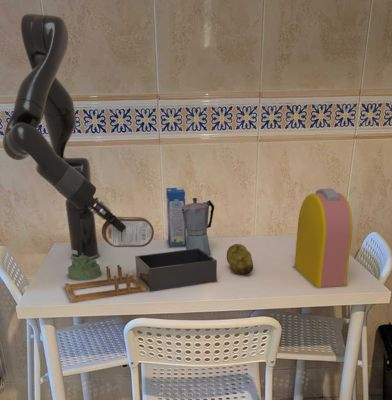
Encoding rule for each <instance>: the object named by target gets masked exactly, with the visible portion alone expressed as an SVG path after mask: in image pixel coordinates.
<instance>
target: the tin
mask: <svg viewBox="0 0 392 400" xmlns="http://www.w3.org/2000/svg"><path fill="white" fill-rule="evenodd" d="M116 218H117V219H118V220H119V221H121V222H122V223H123V224H124V225H125V226H126V228H125V229H124V230H123V232H120V231H119V230H118V229H117V228H115V227H114V226H113V225H112V224H109V223H108V222H107V221H106V220H105V222H103V225H102V227H101V236H102V239H103V240H104V241H105V243H107V244H108V245H110V246H111V247H113V248H144V247H146V246H148V245H149V244H150V243H152V241H153V238H154V235H155V230H154V227H153V225H152V223H151V222H150V221H149V220H148V219H147V218H145V217H142V216H116ZM109 219H110V218H109ZM109 219H108V220H109Z"/></svg>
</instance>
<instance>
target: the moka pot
mask: <svg viewBox="0 0 392 400" xmlns="http://www.w3.org/2000/svg"><path fill="white" fill-rule="evenodd" d="M197 201H198V198H197V197H193V198H192V203H191V202H190V203H187V204H186V203H185V205H184V206H182V207H181V208H182V210H181V212H182V214H183V219H184V225H185V228H186V247H185V250H189V249H197V248H199V249H201V250H202V251H204V252H205V253H207V254H208V255H210V256H211V246H210V242H209V236H208V229H210V228H211V227H212V223H213V216H214V213H215V212H214V211H215V205H214V203H213V202H212V201H211V200H207V201H203V202H197ZM209 213H210V215H209Z"/></svg>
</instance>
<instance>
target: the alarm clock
mask: <svg viewBox="0 0 392 400" xmlns="http://www.w3.org/2000/svg"><path fill="white" fill-rule="evenodd" d="M353 228H354V225H353V215H352V210H351V206H350V203H349V201H348V199H347V197H345V195H343V194H342V193H341V192H337V191H336V190H335V189H334V188H318V189H317V190H316V191H315V193H310V194H308V195H307V196H306V197H305V198H304V200H303V201H302V204H301V205H300V209H299V214H298V220H297V230H296V231H297V232H296V242H295V243H296V244H295V254H294V255H295V256H294V268H295V269H296V270H297V271H298V272H300V273H301V275H303V276H304V277H305V279H307V280H308V281H309V282H310V283H311V284H313V285H314V286H315V287H316V288H319V289H321V288H322V289H323V288H334V287H346V286H347V278H348V271H349V263H350V257H351V256H350V255H351V248H352V240H353Z"/></svg>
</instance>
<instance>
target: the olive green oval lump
mask: <svg viewBox="0 0 392 400" xmlns="http://www.w3.org/2000/svg"><path fill="white" fill-rule="evenodd" d="M226 261H227V263H228V265H229V268H230V270H231V271H232V273H234V274H236V275H239V276H248V275H249V274H252V272H253V270H254V263H253V262H254V261H253V258H252V254H251V252H250V251H249V250H248V249H247V247H246V246H245V245H243V244H241V243H235V244H232V245H231V246H229V247H228V248H227V251H226Z"/></svg>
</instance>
